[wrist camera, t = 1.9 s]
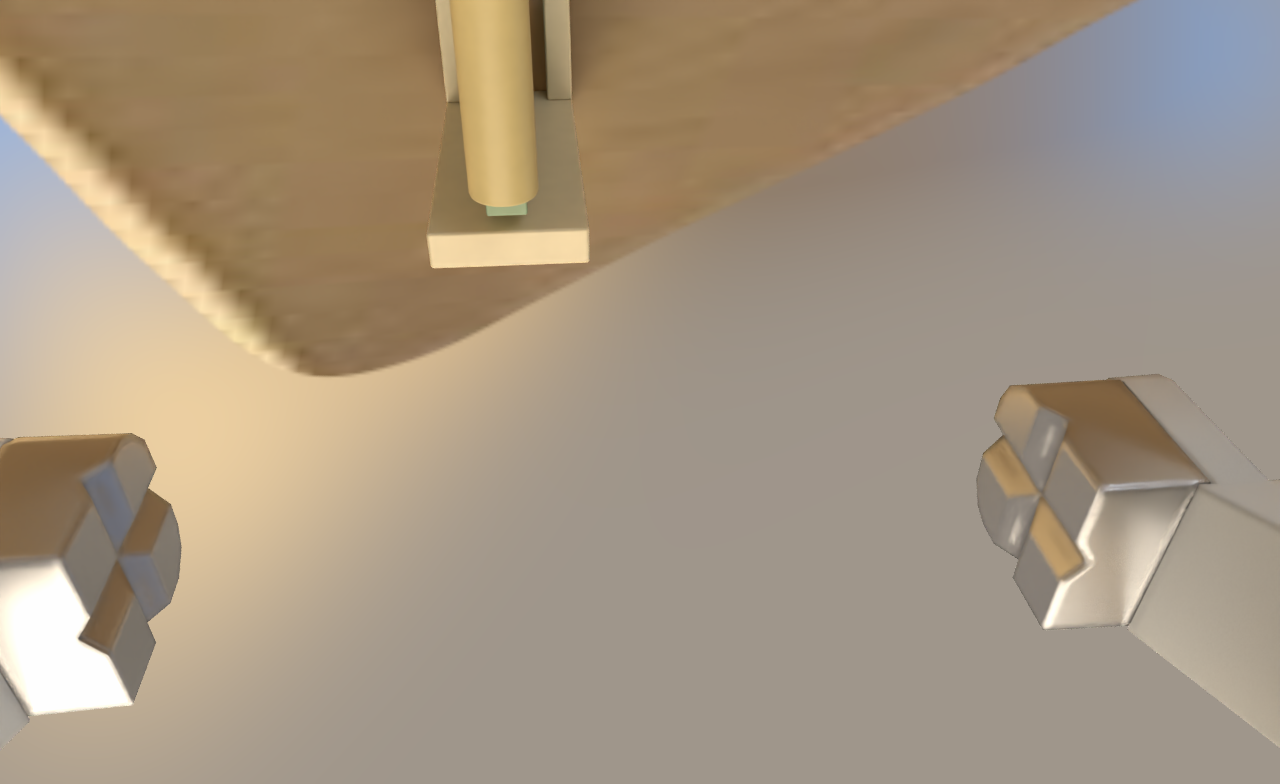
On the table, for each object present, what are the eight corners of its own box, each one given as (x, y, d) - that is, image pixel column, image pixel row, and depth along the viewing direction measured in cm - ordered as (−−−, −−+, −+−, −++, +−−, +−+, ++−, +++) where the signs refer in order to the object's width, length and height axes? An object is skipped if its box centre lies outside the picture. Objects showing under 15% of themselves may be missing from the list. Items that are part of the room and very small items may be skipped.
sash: (483, 83, 31) (471, 249, 22) (459, -211, 26) (430, -148, 17) (533, 82, 31) (541, 247, 22) (518, -210, 26) (520, -147, 17)
